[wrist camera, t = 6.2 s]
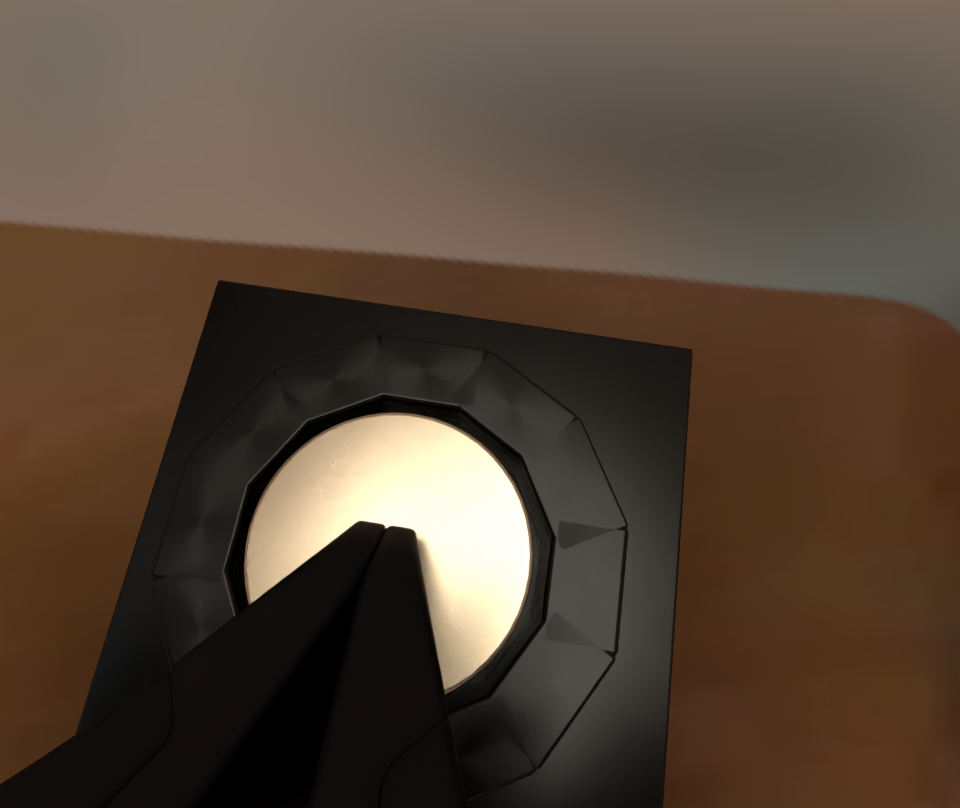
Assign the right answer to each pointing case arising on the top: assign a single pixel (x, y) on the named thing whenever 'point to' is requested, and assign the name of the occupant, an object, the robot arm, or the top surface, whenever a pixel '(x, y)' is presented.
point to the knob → (408, 524)
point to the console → (530, 462)
